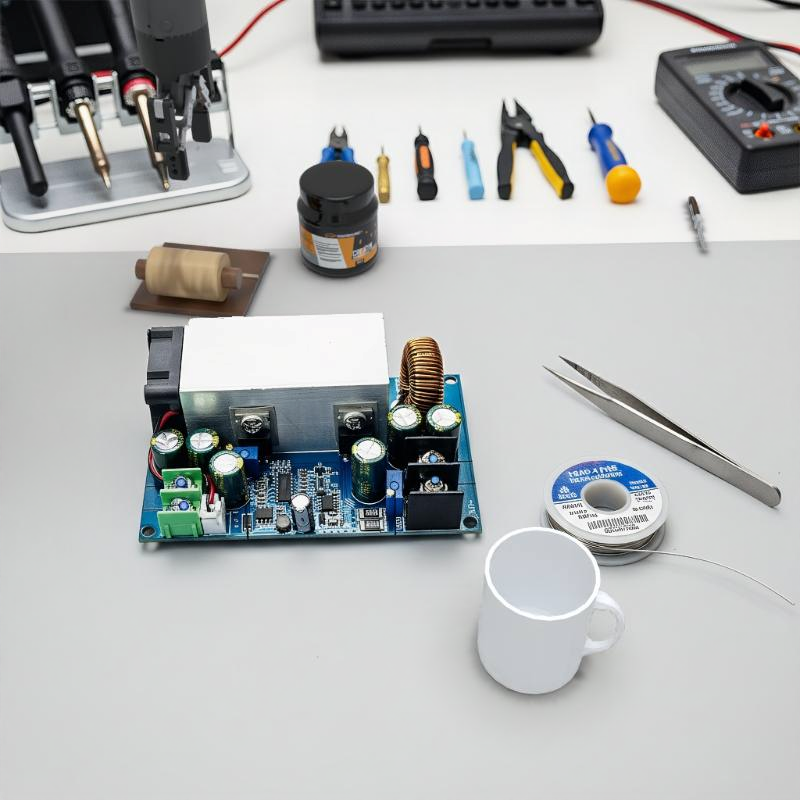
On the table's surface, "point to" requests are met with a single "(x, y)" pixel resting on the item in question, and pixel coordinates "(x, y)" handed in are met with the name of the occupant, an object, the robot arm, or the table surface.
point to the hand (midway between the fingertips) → (191, 159)
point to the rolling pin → (188, 273)
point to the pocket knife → (696, 218)
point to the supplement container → (338, 218)
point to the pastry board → (231, 306)
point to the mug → (540, 610)
